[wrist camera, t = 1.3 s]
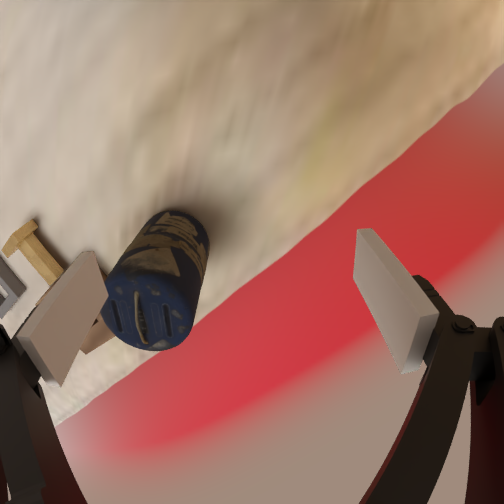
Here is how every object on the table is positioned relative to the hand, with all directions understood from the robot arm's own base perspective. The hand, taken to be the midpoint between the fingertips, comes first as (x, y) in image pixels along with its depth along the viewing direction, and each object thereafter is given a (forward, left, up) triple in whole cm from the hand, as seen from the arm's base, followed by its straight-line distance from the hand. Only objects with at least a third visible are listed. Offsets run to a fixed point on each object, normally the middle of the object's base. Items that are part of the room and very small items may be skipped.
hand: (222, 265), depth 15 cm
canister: (+4, -13, -25) cm, 28 cm away
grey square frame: (-11, -48, -25) cm, 55 cm away
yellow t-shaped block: (-8, -32, -25) cm, 41 cm away
